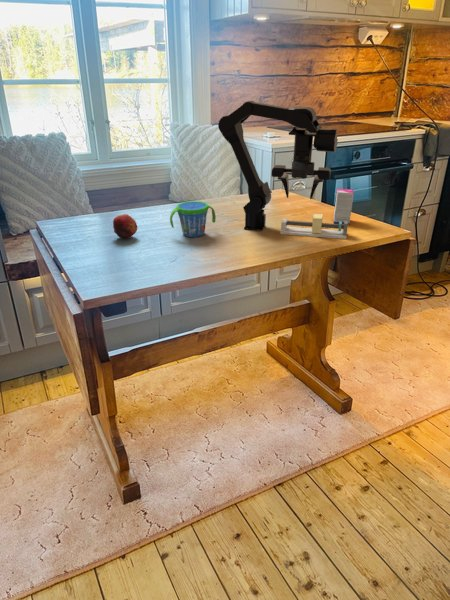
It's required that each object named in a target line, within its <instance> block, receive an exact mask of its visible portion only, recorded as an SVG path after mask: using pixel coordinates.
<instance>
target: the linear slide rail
mask: <svg viewBox="0 0 450 600" xmlns="http://www.w3.org/2000/svg"><path fill="white" fill-rule="evenodd" d="M312 223H313V221H300V220H299V221H298V220H288V218H282V220H281V224H280V235H291V236H299V237H300V236H301V237H302V236H303V237H312V238H313V237H315V238H325V239H326V238H327V239H328V238H329V239H341V240H344V239H345V240H346V239H347V233H348V226H349V224H348V221H344V224H342V222H339V224H336V223H329V222H328V223H327V222H322V226H321V227H322V229H321V233H312ZM295 226H296V227H295ZM307 227H309V228H307ZM324 228H325V229H324ZM337 229H338V230H337Z"/></svg>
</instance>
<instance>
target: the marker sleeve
mask: <svg viewBox="0 0 450 600" xmlns="http://www.w3.org/2000/svg"><path fill="white" fill-rule="evenodd" d="M323 217H324V214H322V213H321V214H319V213H314V214H313V217H312V222H313V223H312V227H311V228H312V233H321V229H323V228H322V227H321V226H322V223H323V219H324V218H323Z"/></svg>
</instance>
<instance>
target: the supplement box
mask: <svg viewBox="0 0 450 600" xmlns="http://www.w3.org/2000/svg"><path fill="white" fill-rule="evenodd" d="M354 193H355V192H354V190H353V189H347V188H337V190H336V196H335V198H336V199H335V205H334V211H333V212H334V213H333V220H332V221H333V224H339V222H342V224H344V221H348V225H349V224H350V222H351V221H350V220H351V215H352V209H353V200H354Z"/></svg>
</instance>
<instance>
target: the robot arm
mask: <svg viewBox="0 0 450 600" xmlns="http://www.w3.org/2000/svg"><path fill="white" fill-rule="evenodd" d="M251 116H255V117H261V118H267V119H272V120H277V121H281V122H285V123H287V124H290V125H291V126H294V127H293V128H292V130H290V131H289V132H288V135H289V136H294V141H293V142H294V145H293V156H292V157H293V159H292V163H291V168H287V167H286V165H283V164H275V165H274V166H273V167H272V169H271V177H273V178H275V177H276V178H277V180H280V181H281V183H282V185H283V189H284V192H285V195H286V198H287V199H289V195H290V187H289V186H290V182H289V179H290V178H289V175H291V178H292V179H304V180H305V179H308V176H310V177H314V178H313V181H312V188H311V190H310V195H309V200H312V199H313V196H314V194H315V192H316V188H317V187H318V185H319V184H320V183H323V182H324V181H325V180H326V181H329V180H331V171H332V170H331V168H330V167H320V166H319V167H318V169H315V162H314V161H312V154H313V148H314V149H315V150H316V151H317V152H326V153H336V150H337V149H338V147H337V146H338V129H337V128H329V129H328V128H322V126H321V124H320V123H319V121H318V119H317V113H316V111H315V109H314V108H313V107H310V106H303V107H301V106H298V107H297V106H296V107H285V106H280V105H274V104H268V103H262V102H256V101H254V100H247V101H245V102H244V103H242V105H241V106H240V107H238V108H236V109H235V110H234V111H233V112H231V113H230V114H228V115H224V116H221V118H220V119H219V120H218V124H217V127H218V130H219V132H220V134H221V135H222V137H223V139H224V140H225V141H226V142H228V144H229V145H230V146H231V149H232V150H233V153H234V156H235V158H236V160H237V163H238V165H239V168H240V170H241V172H242V174H243V177H244V180H245V181H246V184H247V195H248V199H249V201H248V202H247V203H246V204H245V205H244V206H243V207H242V208H243V211H244V213H245V214H244V215H245V216H244V217H245V218H244V220H245V221H244V224H245V225H244V227H243V229H244V230H251V231H263V229H264V228H265V227H266V221H267V220H266V219H267V216H266V213H265V208H266V206H267V205H268V204H269V203H270V201H271V200H272V190H271V188H270V186H269V182H268V181H265V182H263V180H261V178H260V176H259V173H258V171H257V168H256V167H255V165H254V162H253V159H252V156H251V153H250V152H249V149H248V147H247V145H246V142H245V140H244V128H243V125H242V124H243V123H244V122H245V121H247V120H248V119H249V117H251ZM299 128H300V129H299Z"/></svg>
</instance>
